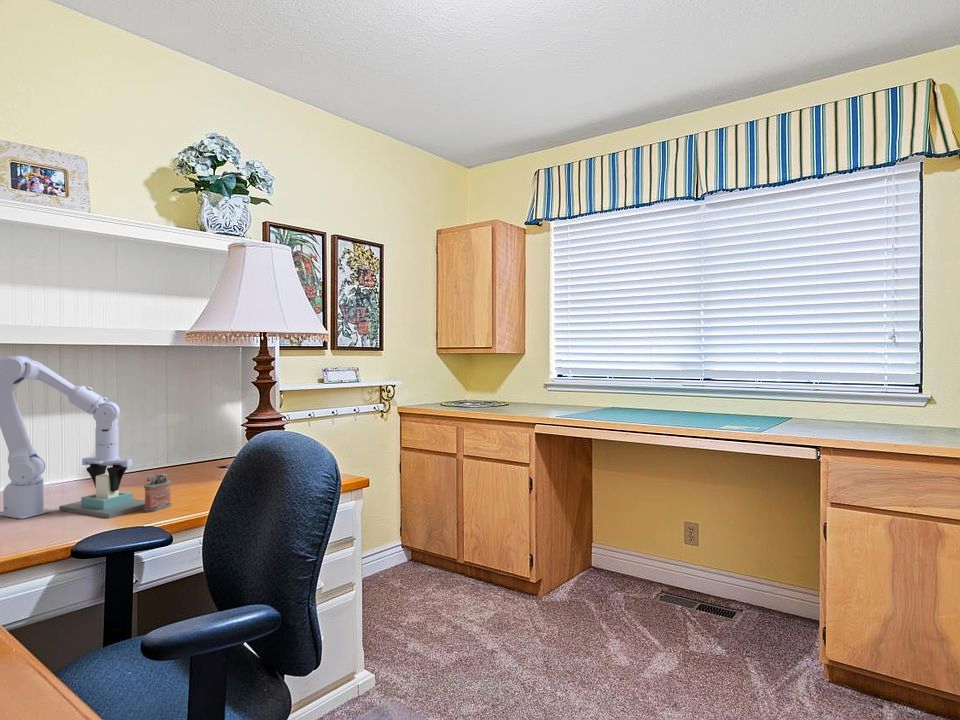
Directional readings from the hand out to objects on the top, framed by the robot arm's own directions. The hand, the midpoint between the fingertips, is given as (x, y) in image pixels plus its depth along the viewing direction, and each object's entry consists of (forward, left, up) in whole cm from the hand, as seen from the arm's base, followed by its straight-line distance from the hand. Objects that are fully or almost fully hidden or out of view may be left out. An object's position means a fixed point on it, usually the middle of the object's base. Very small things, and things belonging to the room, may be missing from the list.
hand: (107, 490), depth 173 cm
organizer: (0, 0, -5) cm, 5 cm away
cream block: (0, 0, -3) cm, 3 cm away
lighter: (+14, +5, -5) cm, 16 cm away
